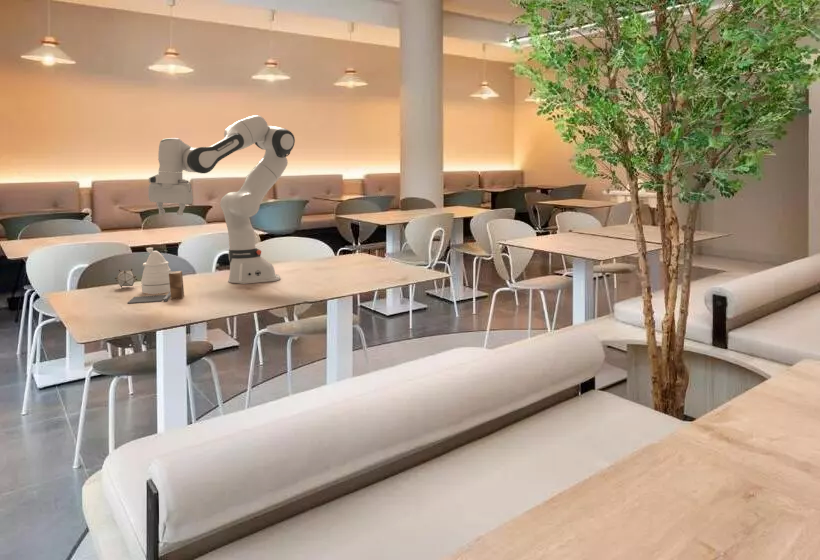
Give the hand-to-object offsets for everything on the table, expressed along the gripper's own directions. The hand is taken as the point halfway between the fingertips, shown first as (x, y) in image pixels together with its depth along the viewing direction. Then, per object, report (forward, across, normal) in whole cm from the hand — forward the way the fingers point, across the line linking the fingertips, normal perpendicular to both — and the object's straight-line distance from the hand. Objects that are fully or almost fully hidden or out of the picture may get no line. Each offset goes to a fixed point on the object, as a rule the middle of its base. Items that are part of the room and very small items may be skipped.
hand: (170, 214), depth 253 cm
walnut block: (+31, -11, +7) cm, 34 cm away
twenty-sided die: (+33, +28, -3) cm, 44 cm away
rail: (+32, -8, +10) cm, 34 cm away
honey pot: (+32, +9, -2) cm, 33 cm away
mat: (+32, -2, +14) cm, 35 cm away
